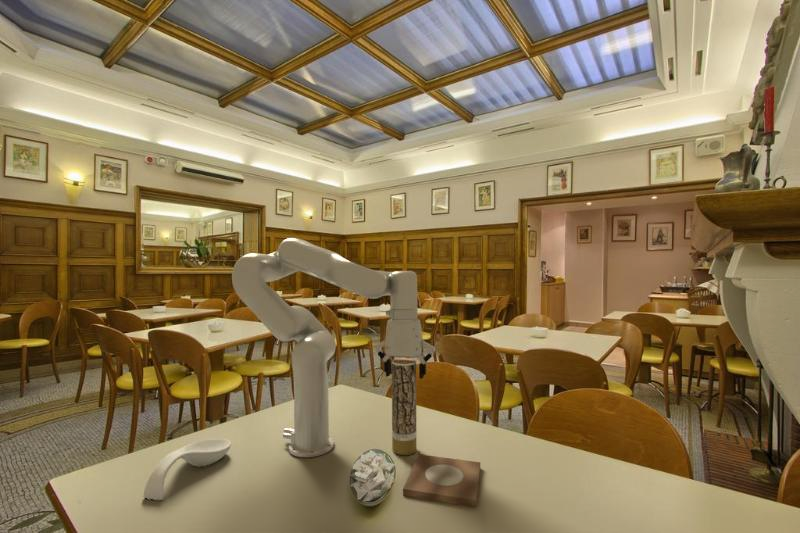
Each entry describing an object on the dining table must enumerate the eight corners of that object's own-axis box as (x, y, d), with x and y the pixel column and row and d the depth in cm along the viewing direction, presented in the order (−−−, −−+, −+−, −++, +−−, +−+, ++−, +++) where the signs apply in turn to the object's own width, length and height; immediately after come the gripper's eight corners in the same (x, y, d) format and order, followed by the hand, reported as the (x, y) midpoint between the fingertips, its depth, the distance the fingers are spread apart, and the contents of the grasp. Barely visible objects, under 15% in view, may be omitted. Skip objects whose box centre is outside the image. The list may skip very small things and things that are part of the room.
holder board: (403, 495, 83) (403, 488, 83) (418, 459, 98) (418, 454, 98) (476, 507, 78) (475, 500, 78) (480, 468, 94) (480, 462, 94)
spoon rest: (201, 448, 105) (201, 423, 105) (239, 451, 104) (240, 425, 104) (129, 499, 82) (129, 467, 82) (177, 504, 80) (177, 471, 80)
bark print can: (414, 457, 99) (414, 364, 99) (389, 455, 101) (389, 363, 101) (418, 445, 106) (417, 358, 106) (395, 443, 107) (394, 357, 107)
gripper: (370, 316, 102) (371, 378, 102) (432, 317, 98) (433, 382, 97) (379, 313, 110) (379, 370, 109) (437, 313, 105) (437, 374, 105)
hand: (405, 376), depth 103 cm, fingers open, 9 cm apart
